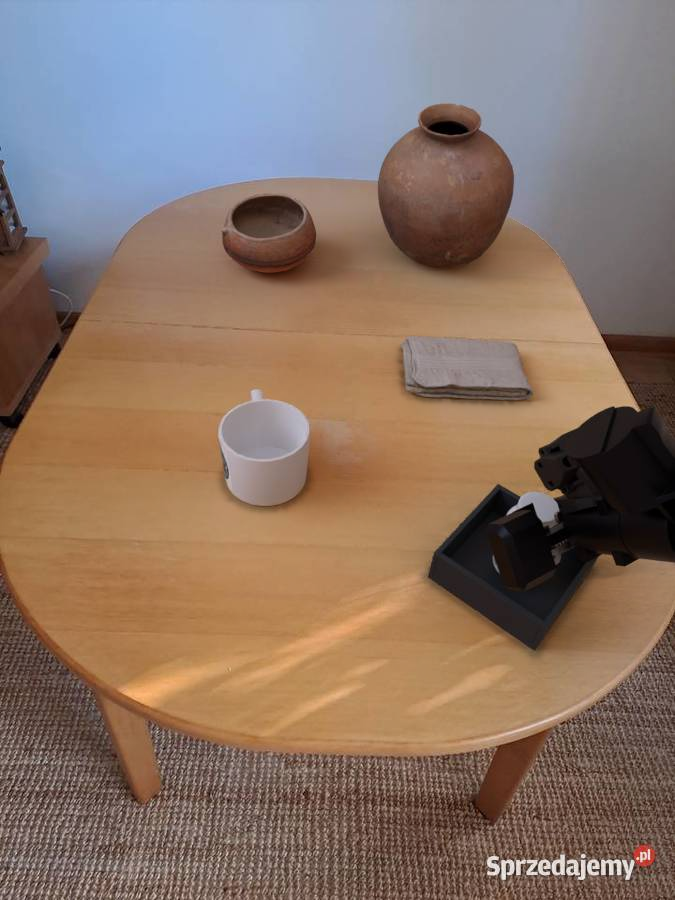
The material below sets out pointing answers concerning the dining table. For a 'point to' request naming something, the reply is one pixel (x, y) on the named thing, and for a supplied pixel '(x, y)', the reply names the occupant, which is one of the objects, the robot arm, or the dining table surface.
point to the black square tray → (480, 585)
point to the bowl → (269, 232)
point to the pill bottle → (537, 509)
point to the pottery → (445, 188)
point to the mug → (264, 450)
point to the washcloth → (464, 369)
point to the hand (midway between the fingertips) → (522, 516)
